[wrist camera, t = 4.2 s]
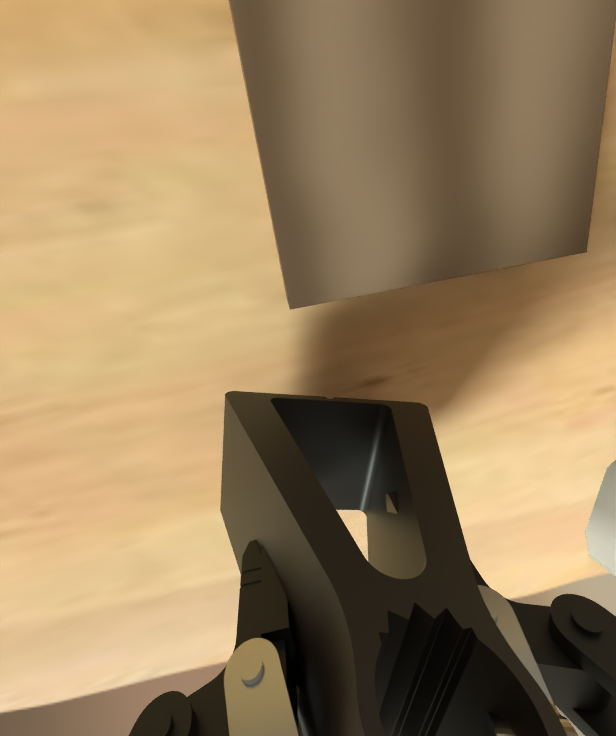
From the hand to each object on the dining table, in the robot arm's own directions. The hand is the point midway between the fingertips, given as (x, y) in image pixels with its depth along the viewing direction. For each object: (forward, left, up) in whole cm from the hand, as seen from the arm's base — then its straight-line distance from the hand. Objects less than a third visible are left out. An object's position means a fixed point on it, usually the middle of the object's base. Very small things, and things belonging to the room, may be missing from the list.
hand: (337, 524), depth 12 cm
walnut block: (+6, +13, -8) cm, 17 cm away
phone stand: (0, 0, -5) cm, 5 cm away
